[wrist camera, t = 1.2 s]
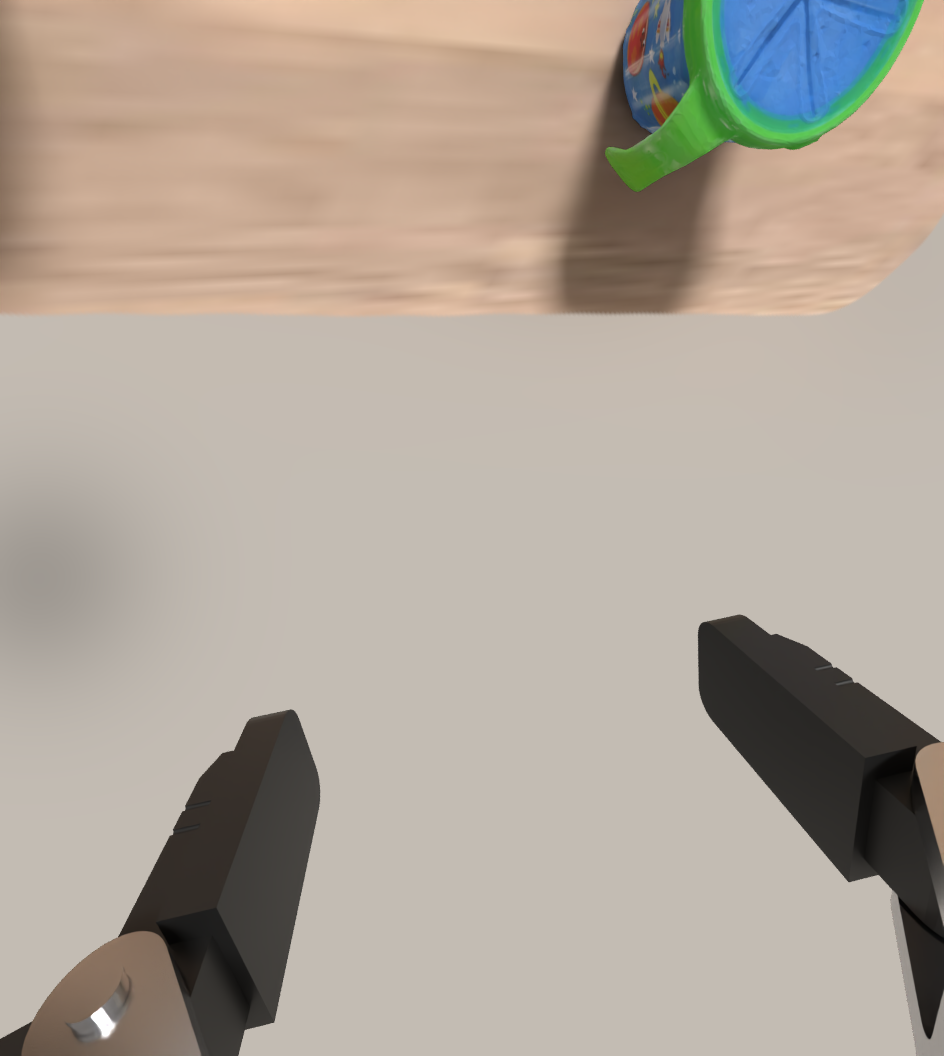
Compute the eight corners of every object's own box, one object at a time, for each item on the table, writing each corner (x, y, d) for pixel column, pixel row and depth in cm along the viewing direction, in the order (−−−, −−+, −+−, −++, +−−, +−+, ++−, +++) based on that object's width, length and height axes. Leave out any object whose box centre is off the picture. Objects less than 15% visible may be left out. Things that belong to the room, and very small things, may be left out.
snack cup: (758, -197, 24) (992, -444, 15) (826, 33, 29) (1028, -52, 20) (520, 84, 27) (600, 13, 18) (620, 244, 32) (718, 247, 24)
